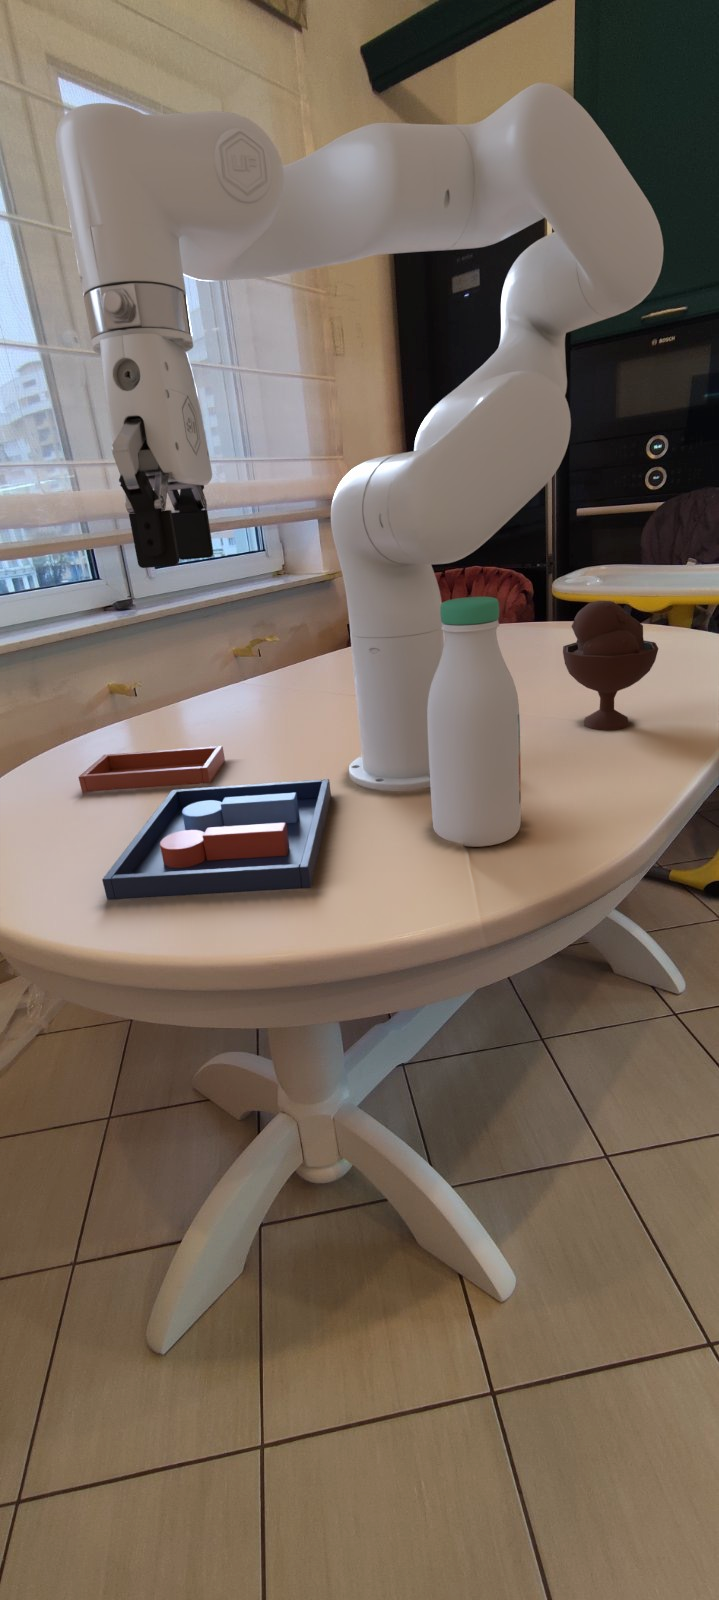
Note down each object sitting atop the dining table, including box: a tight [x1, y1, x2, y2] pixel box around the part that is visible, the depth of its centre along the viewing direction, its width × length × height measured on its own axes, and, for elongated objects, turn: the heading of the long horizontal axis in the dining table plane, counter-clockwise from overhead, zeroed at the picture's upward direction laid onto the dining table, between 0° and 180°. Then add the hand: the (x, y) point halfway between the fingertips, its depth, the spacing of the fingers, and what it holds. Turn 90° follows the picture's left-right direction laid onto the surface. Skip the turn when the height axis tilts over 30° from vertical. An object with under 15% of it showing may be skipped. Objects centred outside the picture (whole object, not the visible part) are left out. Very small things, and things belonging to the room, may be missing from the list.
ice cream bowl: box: [562, 600, 659, 731], centre depth 87 cm, size 11×11×15 cm
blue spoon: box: [182, 793, 299, 832], centre depth 69 cm, size 11×4×2 cm, turn 88°
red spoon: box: [160, 823, 289, 868], centre depth 63 cm, size 11×4×2 cm, turn 87°
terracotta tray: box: [78, 745, 226, 795], centre depth 85 cm, size 15×8×2 cm, turn 88°
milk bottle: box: [427, 596, 522, 848], centre depth 61 cm, size 8×8×20 cm
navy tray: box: [101, 778, 332, 901], centre depth 66 cm, size 16×19×2 cm
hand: (179, 562), depth 61 cm, fingers open, 9 cm apart
